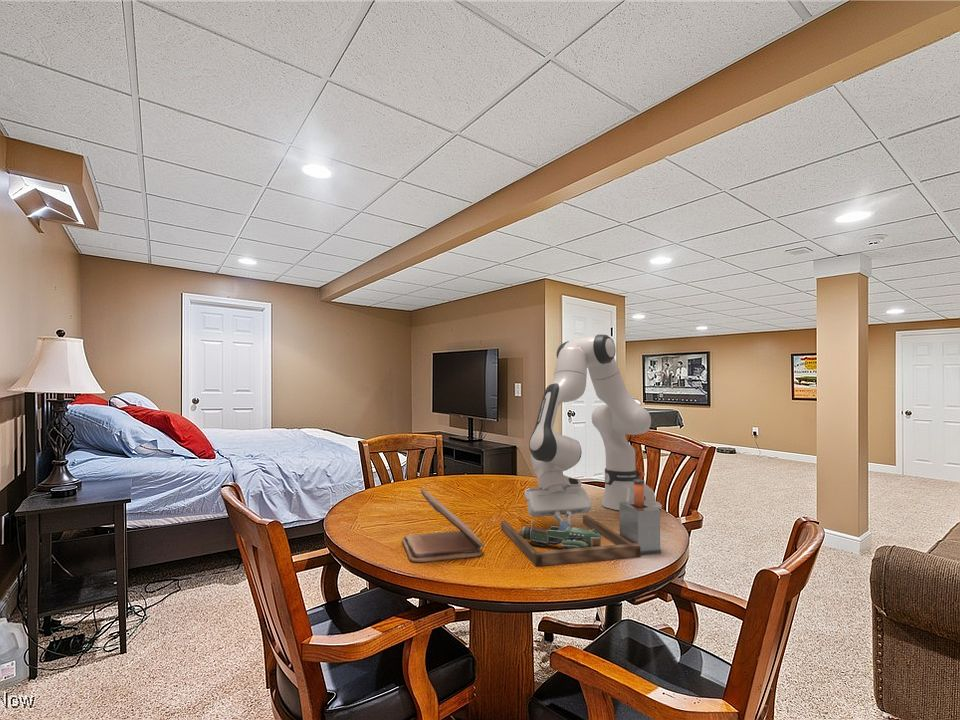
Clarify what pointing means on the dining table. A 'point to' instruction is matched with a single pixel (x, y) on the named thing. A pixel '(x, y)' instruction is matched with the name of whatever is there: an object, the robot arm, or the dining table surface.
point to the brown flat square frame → (578, 554)
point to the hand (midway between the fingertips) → (566, 526)
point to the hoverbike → (561, 536)
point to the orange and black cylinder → (638, 493)
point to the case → (443, 539)
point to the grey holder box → (640, 526)
